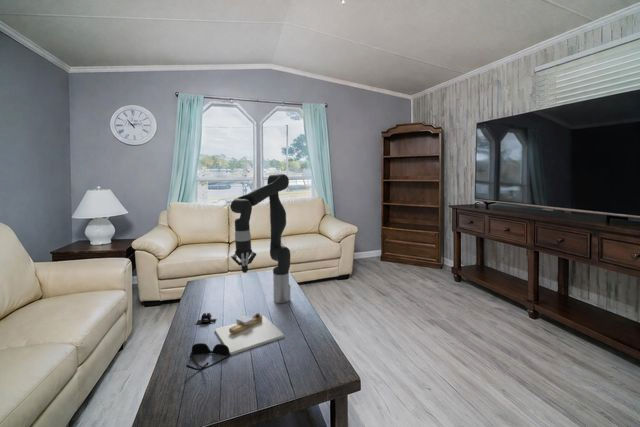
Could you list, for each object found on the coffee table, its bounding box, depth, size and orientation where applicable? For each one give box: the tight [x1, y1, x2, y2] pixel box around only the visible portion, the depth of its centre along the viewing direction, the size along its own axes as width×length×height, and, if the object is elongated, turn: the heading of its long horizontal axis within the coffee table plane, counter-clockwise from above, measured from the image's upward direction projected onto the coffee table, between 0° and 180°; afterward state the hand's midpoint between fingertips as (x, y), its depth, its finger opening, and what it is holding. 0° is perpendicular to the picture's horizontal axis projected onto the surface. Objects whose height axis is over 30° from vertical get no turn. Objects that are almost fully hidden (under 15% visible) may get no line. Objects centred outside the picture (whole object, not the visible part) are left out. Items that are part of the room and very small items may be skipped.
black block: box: [195, 312, 218, 326], centre depth 153 cm, size 12×7×5 cm, turn 98°
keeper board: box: [214, 314, 285, 356], centre depth 140 cm, size 25×24×6 cm
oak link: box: [229, 312, 263, 335], centre depth 145 cm, size 18×4×3 cm, turn 143°
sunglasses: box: [185, 342, 232, 371], centre depth 118 cm, size 17×14×5 cm
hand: (244, 272), depth 152 cm, fingers closed
